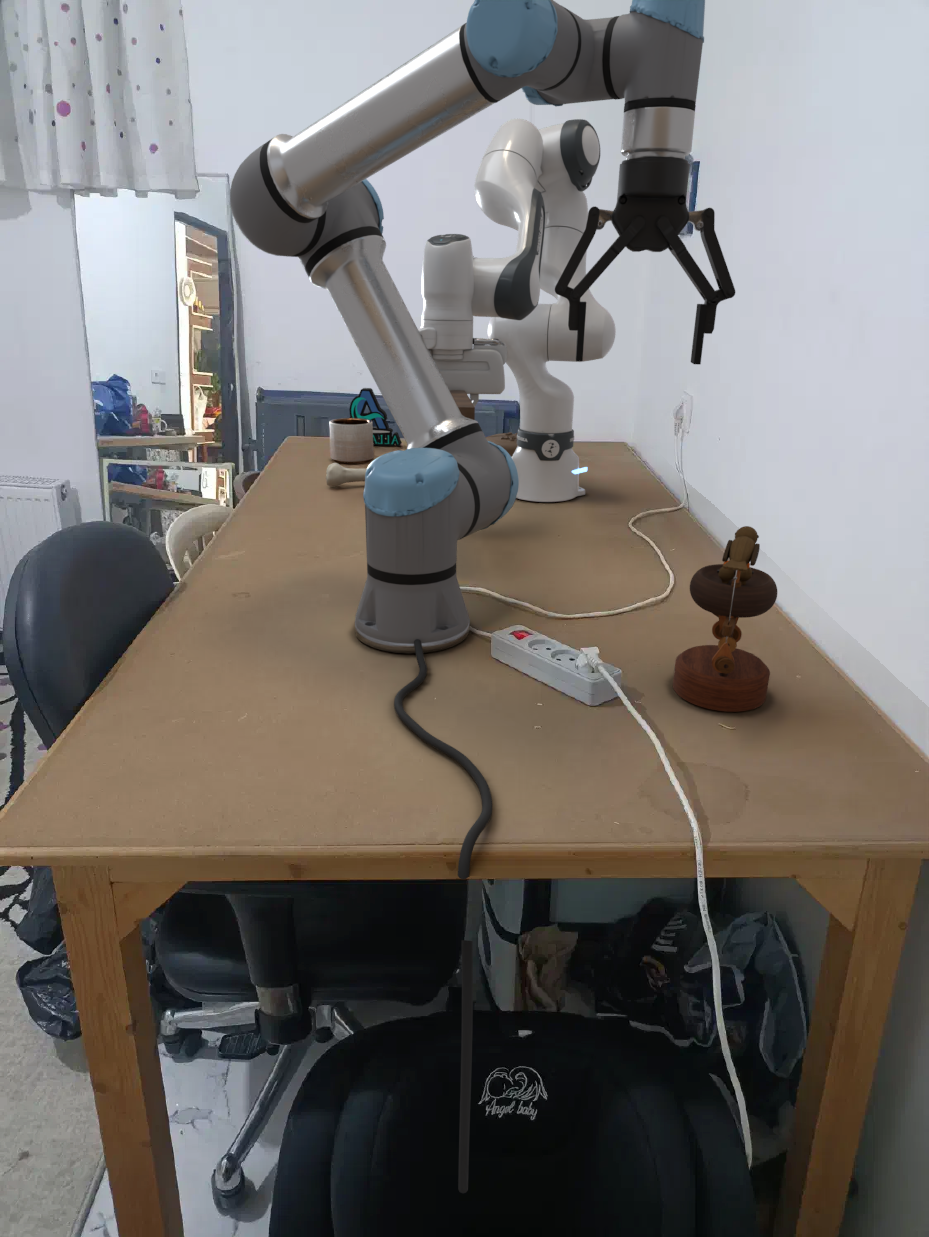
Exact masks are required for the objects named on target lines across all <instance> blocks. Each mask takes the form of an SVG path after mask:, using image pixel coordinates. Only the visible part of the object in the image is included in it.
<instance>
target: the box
mask: <svg viewBox="0 0 929 1237" xmlns="http://www.w3.org/2000/svg"><path fill="white" fill-rule="evenodd" d="M449 391H450V393H451V395H452V397H453V399H454V401H455V403H456V405H457V407H458V409H459V410H460V412H461V414H462V415H463V416H464V417H466V418H470V419H473V420H475V419H476V416H475V415H476V406H475V407H474V405H473V403H472V401H471V399H470V396H469V394H467V393H466V392H465V390H449Z"/></svg>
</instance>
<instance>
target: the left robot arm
mask: <svg viewBox="0 0 929 1237" xmlns="http://www.w3.org/2000/svg"><path fill="white" fill-rule="evenodd" d="M705 9H706V0H631V5H630V6H629V13H625V14H621V15H616V16H612V17H603V18H601V17H600V18H592V19H585V18H582V17H581V16H579V15H577V13H574V12H573V11H572V10H570V9H569V8H566V7H565V6H563V5H561V4H559V3H558V2H556V1H555V0H474V1H473V3H472V4H471V6H470V8H469V10H468V14H467V18H466V22H465V23H463V24H462V25H460V26H459V27H457V28H456V29H454V30H453V31H451V32H450V33H448V34H446V35H445V36H444V37H441V39H439V40H437V41H436V42H435V43H433V44H432V45H430V46H428V47H426V48H425V49H424V50H422V51H420V52H419V53H418V54H417V55H415V56H414V57H412V58H410V59H408V60H407V61H406V62H405V63H403V64H401V65H400V66H397V67H396V68H395V69H393V70H392V71H391V72H388V73H387V74H386V75H385V76H383V77H381V78H379V80H377V81H375V82H374V83H372V84H370V85H369V86H368V87H366V88H365V89H363V90H362V91H360V92H358V93H357V94H355V95H354V96H352V97H351V98H350V99H348V100H347V101H345V102H343V103H342V104H340V105H339V106H337V107H336V108H334V109H333V110H332V111H330V112H329V113H327V114H325V115H323V116H322V117H321V118H319V119H318V120H316V121H315V122H313V123H311V124H310V125H308V126H307V127H305V128H304V129H303V130H301V131H299V132H298V133H296V134H295V135H291V134H287V133H279V134H277V135H275V136H273V137H272V138H270V139H269V140H267V141H266V142H265V143H263V144H262V145H260V146H259V147H258V148H256V149H255V150H253V151H252V152H251V153H249V155H248V156H247V157H246V158H245V159H244V160H243V161H242V162H241V163H240V165H239V166H238V167H237V169H236V172H235V173H234V175H233V178H232V181H231V185H230V190H229V205H230V210H231V214H232V217H233V220H234V222H235V225H236V226H237V228H238V230H239V231H240V234H242V236H243V237H244V238H245V239H246V240H247V241H248V243H250V244H251V245H253V246H254V247H255V248H257V249H258V250H259V251H262V252H264V253H266V254H270V255H273V256H276V257H286V258H287V257H289V258H298V260H299V262H300V263H301V265H302V268H303V270H304V271H305V273H306V276H307V278H308V279H309V281H310V283H311V284H312V285H313V286H315V287H317V288H321V289H324V290H326V291H328V293H329V295H330V297H331V300H332V301H333V303H334V305H335V307H336V309H337V311H338V313H339V315H340V317H341V319H342V321H343V323H344V324H345V326H346V328H347V330H348V332H349V334H350V336H351V338H352V340H353V342H354V344H355V346H356V348H357V349H358V351H359V354H360V356H361V357H362V359H363V361H364V363H365V365H366V367H367V369H368V371H369V373H370V375H371V377H372V379H373V381H374V382H375V384H376V386H377V388H378V390H379V392H380V394H381V396H382V398H383V400H384V402H385V403H386V405H387V407H388V409H389V412H390V413H391V415H392V417H393V419H394V422H395V423H396V426H398V429H399V430H400V432H401V434H402V436H403V438H404V440H405V443H406V444H407V446H406V447H407V448H406V449H404V450H400V449H398V450H393V451H389V452H386V453H384V454H381V455H379V456H378V457H376V458H374V459H372V460H371V461H370V463H369V464H368V466H367V468H366V469H367V470H366V473H365V481H364V488H363V492H362V493H363V494H362V498H363V503H364V515H365V516H364V517H365V518H364V520H365V545H366V546H365V548H366V579H365V584H364V586H363V589H362V592H361V596H360V600H359V602H358V606H357V609H356V612H355V618H354V633H355V636H356V638H357V639H358V640H359V641H360V642H362V643H363V644H365V645H367V646H368V647H371V648H374V649H377V650H380V651H384V652H390V653H396V654H397V653H398V654H415V658H416V662H417V666H418V671H419V672H418V674H417V675H416V676H415V678H414V679H413V680H411V681H410V682H409V683H407V684H406V685H405V686H403V687H402V688H400V690H399V691H398V692H397V693H396V695H395V696H394V700H393V707H394V708H393V709H394V711H395V713H396V716H397V717H398V718H399V720H400V721H401V722H402V723H403V724H404V725H405V726H406V727H407V728H408V729H410V731H411V732H413V733H414V734H415V735H416V736H417V737H418V738H419V739H420V740H422V741H423V742H425V743H426V744H428V745H429V746H431V747H432V748H434V749H437V750H438V751H439V752H440V753H443V754H445V755H446V756H448V757H449V758H451V759H453V760H454V761H456V762H457V763H458V764H459V765H461V767H462V768H464V770H465V771H466V772H467V773H468V774H469V776H471V778H472V779H473V781H474V782H475V784H476V785H477V788H478V790H479V794H480V798H481V812H480V814H479V816H478V818H477V819H476V820H475V822H474V823H473V824H472V825H471V827H470V828H469V830H468V831H467V833H466V835H465V836H464V838H463V839H464V840H463V842H462V845H461V849H460V853H459V857H458V864H457V877H458V879H461V880H466V879H468V878H469V877H470V868H471V867H470V866H471V860H472V855H473V850H474V847H475V845H476V842H477V840H478V838H479V836H480V835H481V833H482V832H483V831H484V830H485V828H486V827H487V826H488V824H489V822H490V820H491V817H492V813H493V797H492V792H491V789H490V786H489V784H488V782H487V780H486V778H485V776H484V775H483V773H481V771H480V770H479V768H478V767H477V766H476V765H475V764H474V763H473V762H472V761H471V760H470V759H469V758H468V757H467V756H466V755H465V754H464V753H462V752H461V751H460V750H458V749H457V748H455V747H453V746H451V745H450V744H448V743H446V742H444V741H443V740H440V739H439V738H437V737H435V736H434V735H433V734H431V733H430V732H428V731H427V730H425V729H424V728H423V727H422V726H421V725H420V724H418V722H416V721H415V720H414V719H413V718H412V717H411V716H410V715H409V714H408V713H407V712H406V710H405V708H404V705H403V701H404V699H405V697H406V696H407V695H408V694H411V692H413V691H414V690H416V689H417V688H418V687H419V686H420V685H421V684H423V682H424V680H425V679H426V677H427V674H428V666H427V663H426V659H425V655H424V654H425V653H433V652H439V651H443V650H446V649H449V648H452V647H455V646H457V645H458V644H460V643H462V642H463V641H464V640H466V639H467V637H468V636H469V634H470V616H469V612H468V608H467V606H466V601H465V599H464V596H463V593H462V589H461V586H460V583H459V581H458V577H457V561H458V560H457V559H458V558H457V557H458V556H457V554H458V541H460V540H462V539H464V538H467V537H469V536H470V535H473V534H475V533H477V532H479V531H482V530H485V529H489V527H491V526H493V525H495V524H496V523H497V522H499V520H501V519H503V518H504V517H505V516H506V515H507V514H508V513H509V512H510V511H511V509H512V507H513V506H514V504H515V502H516V499H517V498H516V495H517V492H518V486H519V479H518V472H517V468H516V465H515V463H514V461H513V459H512V457H511V456H510V455H509V453H508V452H507V451H506V450H505V449H504V448H502V447H501V446H499V445H496V444H494V443H492V442H490V441H487V439H486V437H487V436H486V435H485V433H484V431H483V429H482V427H481V425H480V423H479V422H478V420H473V419H470V418H466V417H464V416H463V415H462V414H461V412H460V410H459V409H458V407H457V405H456V403H455V401H454V399H453V397H452V395H451V393H450V391H449V389H448V387H447V385H446V383H445V381H444V379H443V377H442V375H441V373H440V372H439V370H438V368H437V366H436V364H435V362H434V360H433V358H432V356H431V354H430V352H429V350H428V348H427V346H426V344H425V342H424V340H423V338H422V336H421V334H420V333H419V331H418V327H417V324H416V323H415V321H414V319H413V317H412V315H411V313H410V310H409V309H408V307H407V304H406V303H405V301H404V299H403V297H402V295H401V293H400V292H399V290H398V287H397V286H396V284H395V282H394V280H393V278H392V276H391V274H390V272H389V270H388V269H387V266H386V264H385V262H384V260H383V258H384V254H385V251H386V248H387V242H386V240H385V238H384V235H383V233H384V226H383V220H384V219H385V216H384V208H383V204H382V201H381V198H380V196H379V194H378V192H377V190H376V189H375V187H374V186H373V184H372V183H371V182H370V181H369V180H368V178H370V177H372V176H373V175H376V174H377V173H379V172H381V171H382V170H384V169H385V168H388V167H389V166H390V165H392V164H394V163H396V162H397V161H399V160H401V159H402V158H405V157H406V156H407V155H409V154H411V153H413V152H414V151H416V150H418V149H419V148H421V147H423V146H424V145H426V144H428V143H430V142H431V141H433V140H434V139H437V138H438V137H440V136H441V135H443V134H445V133H446V132H448V131H450V130H452V129H453V128H455V127H457V126H458V125H460V124H462V123H463V122H465V121H467V120H468V119H470V118H472V117H474V116H476V115H477V114H479V113H481V112H482V111H484V110H486V109H487V108H489V107H491V106H492V105H494V104H496V103H498V102H501V101H502V100H503V99H506V98H507V97H509V96H511V95H513V94H514V93H516V92H518V91H519V90H521V92H523V93H524V97H525V98H526V100H527V101H528V102H529V103H530V104H532V105H535V106H548V105H549V106H554V107H563V105H568V104H579V103H588V102H599V101H600V102H601V101H608V100H615V101H616V100H623V99H624V106H623V117H622V118H623V119H622V131H621V142H620V143H621V145H620V154H621V155H622V156H624V157H625V159H624V160H622V161H621V163H620V164H619V171H618V182H617V195H616V196H617V197H616V204H615V208H614V209H613V210H611V209H610V210H609V209H602V208H599V207H598V206H592V207H590V208H589V209H588V217H587V223H586V229H585V231H584V233H583V235H582V237H581V239H580V241H579V242H578V244H577V246H576V248H575V250H574V252H573V254H572V256H571V258H570V260H569V262H568V263H567V265H566V267H565V269H564V271H563V273H562V275H561V277H560V279H559V281H558V283H557V284H556V286H555V292H556V294H558V295H560V296H562V297H565V298H567V299H568V301H569V318H568V327H569V330H572V331H577V346H576V361H583V347H584V332H585V316H586V302H580V298H581V297H582V296H583V295H584V293H585V292H586V291H587V290H588V289H589V290H590V288H591V287H592V286H593V285H594V283H595V282H596V281H597V280H598V279H599V277H600V276H601V275H602V274H603V273H604V272H605V271H606V269H608V268H609V266H610V265H611V264H612V263H613V262H614V260H615V259H616V258H617V257H618V256H619V255H620V254H621V253H622V251H623V250H624V249H625V248H626V249H627V250H628V251H631V252H634V253H640V252H643V251H648V252H651V253H661V252H664V251H666V250H667V249H668V250H669V252H670V253H671V255H672V256H673V257H674V258H675V260H676V261H677V262H678V264H679V265H680V267H681V269H682V270H683V271H684V273H685V274H686V276H687V277H688V279H689V281H691V283H692V285H693V286H694V287H695V289H696V290H697V292H698V293H699V295H700V296H701V297H702V299H703V301H704V303H697V304H696V309H695V310H696V311H695V318H694V327H693V337H692V345H691V355H690V363H691V364H692V365H701V364H702V354H703V346H704V337H705V334H707V335H708V334H711V335H712V334H713V332H714V331H715V324H716V316H717V307H718V305H719V304H720V303H721V302H722V301H725V300H728V299H732V298H734V296H735V295H736V288H735V285H734V283H733V279H732V277H731V273H730V271H729V268H728V264H727V262H726V260H725V256H724V253H723V251H722V248H721V245H720V242H719V239H718V236H717V233H716V231H715V223H716V222H715V221H716V220H715V219H716V218H715V216H716V213H715V210H714V209H713V208H712V207H706V208H704V209H702V210H692V211H689V210H688V207H687V196H688V187H689V186H688V185H689V178H690V169H691V168H690V167H691V164H690V163H689V161H688V160H687V159H686V157H688V156H689V155H690V154H691V153H692V149H693V140H694V129H695V118H696V107H697V106H696V104H697V103H696V102H697V95H698V89H699V88H698V86H699V80H700V79H699V78H700V72H701V71H700V69H701V63H702V53H703V46H704V43H705V36H704V29H705V28H704V27H705V11H706V10H705ZM608 222H611V224H612V226H613V227H614V230H615V231H616V233H617V234H618V237H617V238H616V239H615V240H614V242H612V244H611V245H610V246H609V247H608V248H607V250H606V251H605V252H604V253H603V254H602V255H601V257H600V258H599V259H598V260H597V261H596V262H595V264H594V265H592V267H591V268H590V269H589V270H588V271H587V272H586V275H585V276H584V278H583V279H582V280H581V281H580V282H579V283H578V284H577V286H576V287H575V288H574V289H573V288H570V287H568V285H569V283H570V281H571V279H572V277H573V275H574V273H575V271H576V269H577V268H578V266H579V264H580V262H581V260H582V258H583V256H584V254H585V252H586V251H587V252H588V249H589V247H590V245H591V243H592V241H593V239H594V237H595V235H596V232H597V231H601V230H602V229H603V228H604V227H605V225H606V224H607V223H608ZM688 223H691V224H692V226H693V229H694V230H695V231H696V232H699V234H700V238H701V242H702V245H703V248H704V250H705V253H706V256H707V258H708V261H709V265H710V266H711V270H712V273H713V276H714V279H715V282H716V284H717V287H718V289H716V290H715V289H714V287H713V286H712V284H711V283H710V281H709V279H708V278H707V277H706V275H705V274H704V273H703V271H702V270H701V268H700V266H699V265H698V264H697V262H696V261H695V259H694V258H693V256H692V255H691V254H690V252H689V250H688V249H687V246H686V245H685V244H684V242H683V240H682V238H680V236H679V235H680V234H681V232H682V231H683V230H684V229H685V227H686V226H687V225H688ZM473 942H474V941H473V940H467V939H466V940H465V939H461V1048H460V1050H461V1051H460V1053H461V1054H460V1089H459V1090H460V1093H459V1096H460V1098H459V1132H458V1134H459V1135H458V1180H457V1182H458V1183H457V1186H458V1188H457V1189H458V1191H459V1193H461V1194H466V1193H467V1192H468V1191H469V1167H470V1166H469V1164H470V1163H469V1162H470V1161H469V1160H470V1159H469V1158H470V1130H471V1128H470V1126H471V1099H472V1097H471V1094H472V1064H473V1063H472V1062H473V1022H474V1021H473V1019H474V1018H473V1015H474V1014H473V1013H474V1011H473V1010H474V1008H473V1007H474V1005H473V1003H474V946H473V944H474V943H473Z"/></svg>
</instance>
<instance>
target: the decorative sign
mask: <svg viewBox="0 0 929 1237" xmlns="http://www.w3.org/2000/svg"><path fill="white" fill-rule="evenodd" d="M366 408H367V409H368V410H369V411H368V412H365V411H366ZM348 411H349V418H362V419H368V420H371V421H372V422H374V424H375V426H373V446H381V447H382V446H385V447H390V446H391V447H394V446H396V447H400V446H401V445H402V440H401V437H400V435H399V433H398V432H397V431H395V432H394V429H393V428H392V427H390V426H389V424H388V421H387V420H388V414H387V412H386V411H385V410H384V409H383V408H382V407H381V406H380V404H379V401H378V399H377V397H376V395H375V392H374V389H373V388H371V387H362V388H361V389H360V390H359V394H358V395H356V396H355V397H354V398H353V399H352V400H351V402H350V405H349V410H348ZM393 432H394V433H393Z"/></svg>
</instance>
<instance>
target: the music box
mask: <svg viewBox="0 0 929 1237" xmlns="http://www.w3.org/2000/svg"><path fill="white" fill-rule="evenodd" d="M759 538H760V535H758V532H757V530H756V529H755V528H753V527H752V526H750V525H744V526H742V527H739V528H738V529H737V530H736V531H735V532H734V539H729V540H728V541H727V543H726V546H725V548H724V552H723V555H722V559H721V561H722V562H723V563H717V564H710V565H706V566H703V567H701V568H700V569H698V570H697V571H696V572H695V573H694V574H693V576H692V577H691V579H690V582H689V593H690V596H691V598H692V600H693V601H694V603H695V604H696V605H697V606H698V607H699V608H701V609H702V610H704V611H706V612H709V613H711V614H713V615H714V616H716V617H717V618H718V620H717V621H715V622H714V623H713V625H712V628H711V633H712V636H713V637H714V638H715V639H716V640H718V642H717V644H703V645H696V646H693V647H688V649H686V650H684V651H682V652H681V653H680V654H678V655H677V656H676V658H675V663H674V671H673V679H672V689H673V690H674V692H675V693H676V694H677V695H678V696H679V697H680V698H681V699H683V700H684V701H687V702H688V703H690V704H693V705H695V706H696V707H697V706H698V707H700V708H704V709H708V710H712V711H717V712H729V713H731V712H734V713H735V712H736V713H737V712H738V713H739V712H747V711H751V710H754V709H757V708H760V707H761V706H763V704H764V703H765V702H766V699H767V693H768V688H769V684H770V676H771V672H770V668H769V667H768V665H766V664H765V662H764V661H763V660H762V659H761V658H759V657H758V656H756V655H755V654H753V653H751V652H749V651H746V650H743V649H741V648H737V646H738V645H737V644H738V642H739V641H740V640H741V639H742V634H743V633H742V629H741V628H740V627H739V626H738V621H739V619H740V618H741V619H744V618H753V617H759V616H761V615H763V614H765V613H767V612H769V610H771V609H772V608H773V606H774V605H775V603H776V602H777V599H778V586H777V584H776V582H775V580H774V579H773V577H772V576H771V575H769V573H767V572H765V571H763V570H760V569H758V568H755V567H754V566H755V565H756V563H757V560H758V557H759V552H760V549H761V548H760V543H758V542H757V541H758V539H759Z"/></svg>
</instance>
